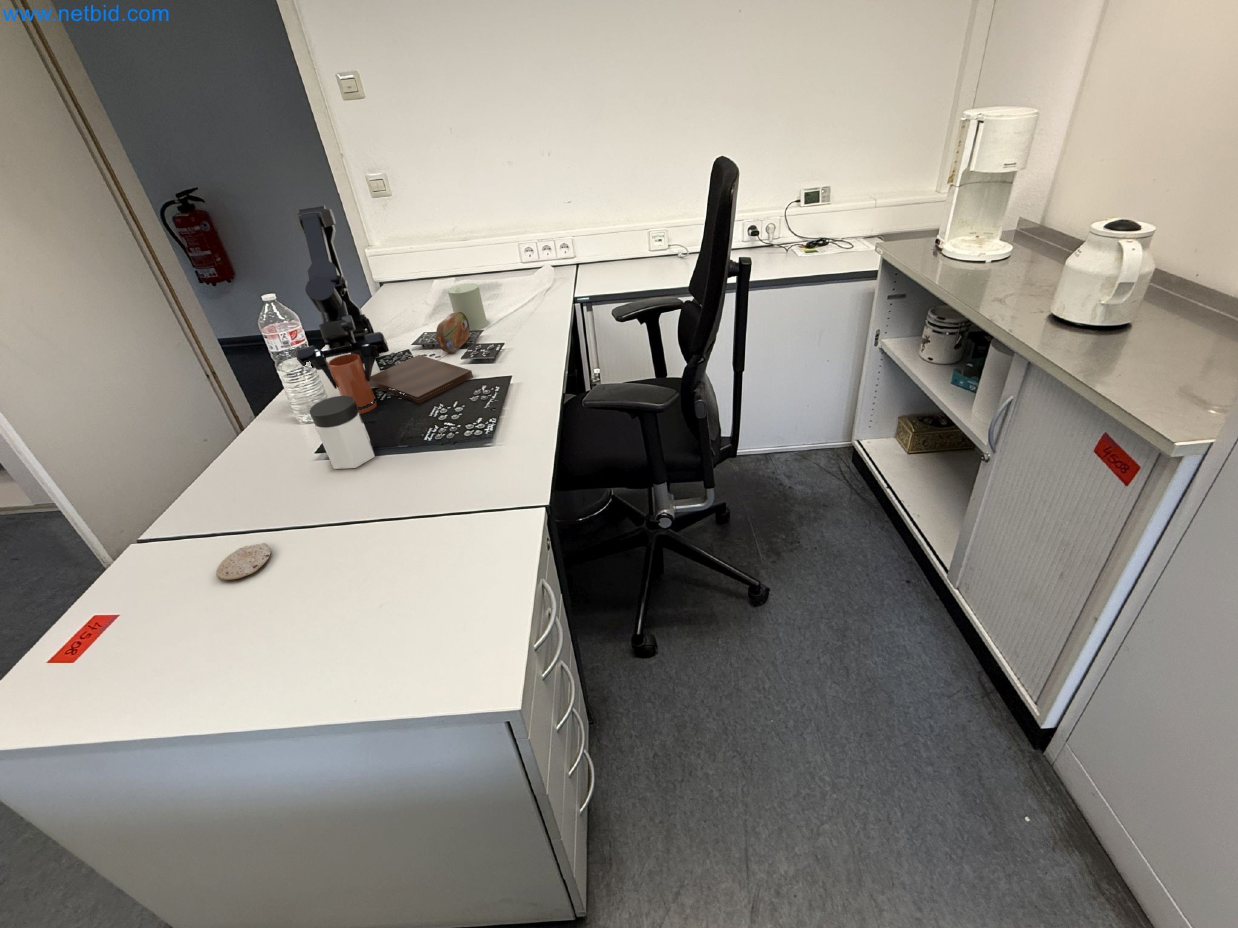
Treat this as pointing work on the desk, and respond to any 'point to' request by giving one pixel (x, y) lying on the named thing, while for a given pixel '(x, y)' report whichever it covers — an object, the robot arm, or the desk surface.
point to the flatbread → (243, 561)
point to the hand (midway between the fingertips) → (352, 384)
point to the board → (420, 378)
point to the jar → (342, 432)
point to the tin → (453, 332)
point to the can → (468, 304)
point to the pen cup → (352, 380)
